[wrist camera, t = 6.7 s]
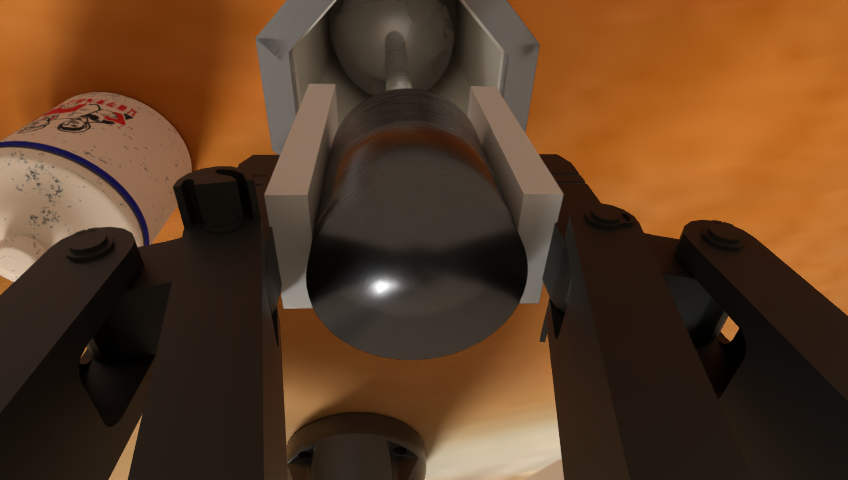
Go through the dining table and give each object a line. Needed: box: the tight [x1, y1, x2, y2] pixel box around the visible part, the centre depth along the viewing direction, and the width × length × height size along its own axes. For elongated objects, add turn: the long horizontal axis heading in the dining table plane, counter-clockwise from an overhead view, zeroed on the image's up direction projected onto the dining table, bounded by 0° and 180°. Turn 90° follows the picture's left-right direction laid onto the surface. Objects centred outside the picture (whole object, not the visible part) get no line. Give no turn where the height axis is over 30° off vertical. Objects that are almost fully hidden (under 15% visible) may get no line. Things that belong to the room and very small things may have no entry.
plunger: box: [306, 0, 528, 360], centre depth 17 cm, size 6×6×20 cm
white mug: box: [255, 0, 540, 155], centre depth 22 cm, size 12×9×14 cm
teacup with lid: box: [0, 92, 192, 282], centre depth 27 cm, size 12×9×12 cm
